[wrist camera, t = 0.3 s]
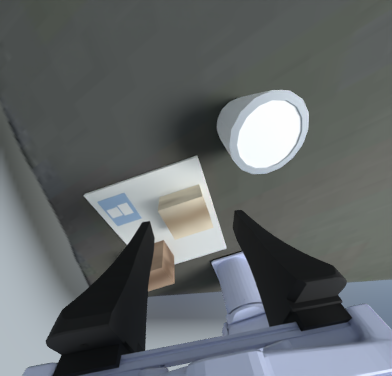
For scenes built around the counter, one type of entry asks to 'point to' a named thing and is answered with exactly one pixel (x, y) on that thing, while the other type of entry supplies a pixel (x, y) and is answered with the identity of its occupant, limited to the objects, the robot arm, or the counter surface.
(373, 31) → the counter surface
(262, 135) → the white tapered cup
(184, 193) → the maple base block
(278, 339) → the robot arm
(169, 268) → the walnut block
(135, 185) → the plate
